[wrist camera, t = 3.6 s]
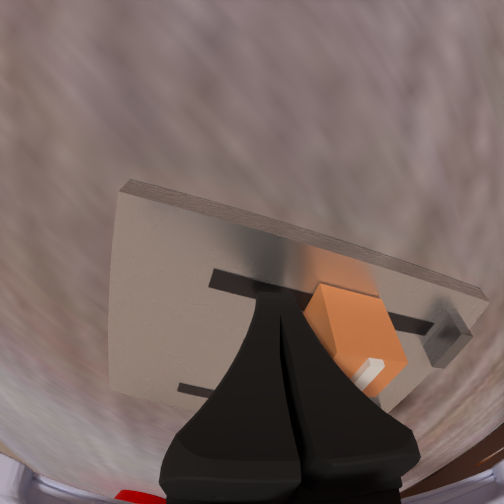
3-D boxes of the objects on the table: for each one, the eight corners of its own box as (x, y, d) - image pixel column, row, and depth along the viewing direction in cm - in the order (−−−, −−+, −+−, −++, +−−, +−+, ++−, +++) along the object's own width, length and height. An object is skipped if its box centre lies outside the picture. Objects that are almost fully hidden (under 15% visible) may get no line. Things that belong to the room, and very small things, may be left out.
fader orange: (381, 299, 13) (411, 369, 10) (356, 334, 14) (376, 403, 11) (319, 283, 12) (338, 360, 9) (297, 322, 13) (308, 397, 10)
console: (480, 288, 14) (503, 321, 12) (364, 416, 21) (371, 447, 19) (129, 179, 11) (101, 210, 9) (114, 374, 18) (103, 409, 16)
